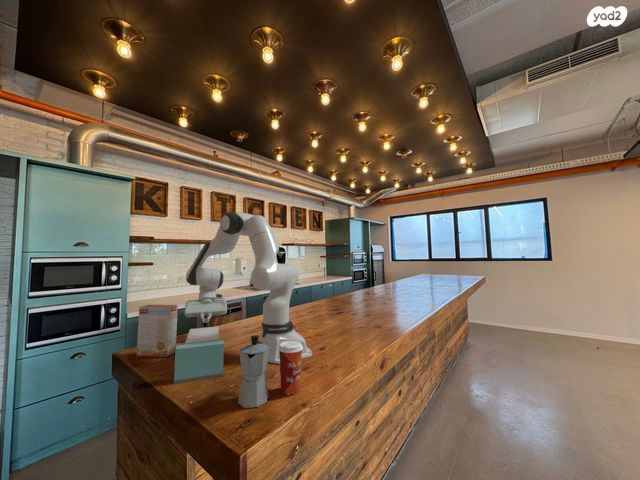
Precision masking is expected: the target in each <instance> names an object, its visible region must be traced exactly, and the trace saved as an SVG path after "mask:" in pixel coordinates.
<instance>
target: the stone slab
mask: <svg viewBox="0 0 640 480" xmlns="http://www.w3.org/2000/svg"><path fill="white" fill-rule="evenodd" d="M219 334H220V333H219V326H209V327H208V326H207V327H199V328H190V329H189V332H188V334H187V337H186V339H185V342H184V345H186V344H195V343H204V342H212V341H220V336H219Z"/></svg>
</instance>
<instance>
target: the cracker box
mask: <svg viewBox="0 0 640 480" xmlns="http://www.w3.org/2000/svg"><path fill="white" fill-rule="evenodd" d="M178 307H179V306H178V304H146V305H141V306H139V309H138V310H139V311H138V324H137V325H138V326H137V339H136V340H137V342H136V354H135V355H136V357H147V358H151V357H153V358H168V357H169V356H171V355H174V354H175V351H176V347H177V331H178V330H177V329H178V325H177V324H178Z"/></svg>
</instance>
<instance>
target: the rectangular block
mask: <svg viewBox="0 0 640 480" xmlns="http://www.w3.org/2000/svg"><path fill="white" fill-rule="evenodd" d="M224 353H225V341H224V339H222V340H219V341H212V342H204V343H195V344H186V345H185V344H176V351H175V353H174V354H175V355H174V356H175V357H174V372H173V376H174V378H173V385H175V384H182V383H189V382H194V381H199V380H206V379H212V378H218V377H219V378H220V377H223V376H224V359H225V358H224V356H225V354H224Z"/></svg>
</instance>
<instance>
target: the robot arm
mask: <svg viewBox="0 0 640 480" xmlns="http://www.w3.org/2000/svg"><path fill="white" fill-rule="evenodd" d="M219 223H220V225H219V227H218V229H217V232H216V234H215V236H214V238H213V239H211V240H210V241H207V242H206V243H205V244H204V245H203V246H202V247H201V250H200V251H199V253H198V254H197V256H196V258H195V260H194V261H193V263H192V264H191V266H190V267H189V269H188V270H187V272H186V273H185V274H186V275H185V281H186V282H187V284H189V285H190V286H199V287H198V289H199V290H198V291H199V293H198V299H195V300H193V299H192V300H191V299H190V300H188V301H186V302H185V303H184V316H185V317H186V318H193V317H194V318H195V317H200V318H201V320H202V323H203V324H205V323H210V320H211V318H212V316H218V315H220V316H221V315H226V314H227V313H228V305H227V300H226V299H225V295H224V294H220V293H216V291H217V290H219V289H220V288H221V287H222V286H223V283H224V274H223V271H221V270H220V269H215V268H208V267H203V265H204V263H205V262H206V260H207V259H208V258H210V257H212V256H218V255H226V254H229V253H231V252H232V251H234V249H235V248H236V245H238V241H239V238H240V236H243V237H245V236H246V237H247V236H248V240H249V242H250V245H251V248H252V252H253V254H254V259H255V264H254V265H255V266H254V268H253V269H252V271H251V274H250V281H251V284H252V285H253V287H254V288H255V289H257V290H261V291H266V292H267V291H269V294H268V296H267V298H266V299H265V300H264V302H263V305H262V322H261V326H260V327H261V329H260V332H261V333H260V335H261V341H262V344H264V345H267V346H268V347H269V348H270V349H269V357H268V363H272V364H276V365H280V352H279V350H278V348H279V347H280V344H281V343H282V342H285V341H298V342H300V343H301V344H302V346H303V349H302V358H301V360H303V359H308V358H311V357H312V355H313V351H312V350H311V349H310V348H309V347H308V346H307V342H306V339H305V338H304V337H303V336H302V335H301V334H300V333H298V332H297V331H296V330H294V329H296V328H297V327H298V326H297V323H296V322H293V321H290V302H291V297H292V293H293V290H294V287H295V285H296V284H297V282H298V281H299V277H300V275H299V274H300V273H299V270H298V268H297V267H296V266H294V265H291V264H288V263H279V262H278V257H277V254H278V253H279V251H280V247H279V243H278V242H277V239H276V237H275V234H274V232H273V230H272V228H271V225H270V223H268V220H267V219H266V218H265V217H264V216H263V215H258V214H252V213H246V212H234V211H229V212H225V213H224V214H222V216H221V218H220V222H219ZM205 316H206V317H205Z"/></svg>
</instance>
